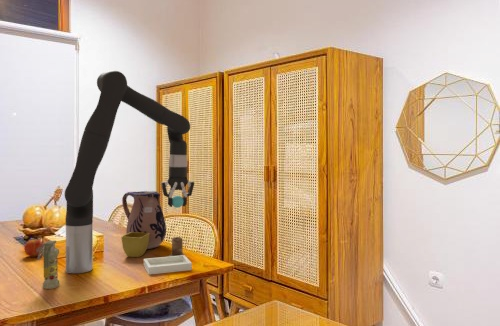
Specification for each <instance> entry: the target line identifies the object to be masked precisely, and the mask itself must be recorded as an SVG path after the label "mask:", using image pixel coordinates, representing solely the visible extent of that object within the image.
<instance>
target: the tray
mask: <svg viewBox="0 0 500 326" xmlns="http://www.w3.org/2000/svg"><path fill="white" fill-rule="evenodd" d="M143 267H144V268H145V270H146V272H147V275H158V274H165V273H166V274H168V273H174V272H184V271H185V272H186V271H192V270H193V263H192V262H191V260H190V259H189V258H188V257H187V256H186V255H185V254H184V255H179V256H170V255H169V256H161V257H159V256H158V257H150V258H148V257H147V258H143Z"/></svg>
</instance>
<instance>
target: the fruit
mask: <svg viewBox="0 0 500 326" xmlns="http://www.w3.org/2000/svg"><path fill="white" fill-rule="evenodd" d="M43 244H44V243H43V242H42V241H41V240H40V239H36V237H33V238H32V239H30V240H28V241H27V242H25V245H24V253H25V255H28V256H29V257H31V258H35V257H38V254H39V252H40V251H39V252H37V251H36V250H37V249H38V248H39V247H41V246H42V245H43ZM42 248H43V249H44V247H42ZM39 250H41V249H39ZM41 254H42V251H41Z"/></svg>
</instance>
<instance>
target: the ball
mask: <svg viewBox="0 0 500 326" xmlns="http://www.w3.org/2000/svg"><path fill="white" fill-rule="evenodd" d="M183 202H184V201H183V196H181V195H174V196H172V207H174V208H175V209H176V208H182V207H183Z"/></svg>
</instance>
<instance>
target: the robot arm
mask: <svg viewBox="0 0 500 326" xmlns="http://www.w3.org/2000/svg"><path fill="white" fill-rule="evenodd" d="M96 86H97V88H98V90H99V92H100V94H99V98H98V101H97V105H96V107H95V109H94V111H93V112H92V114H91V116H89V119H88V120H87V123H86V124H85V127H84V131H83V133H82V136H81V139H80V143H79V146H78V152H77V158H76V163H75V167H74V169H73V172H72V174H71V176H70V179H69V181H68V184H67V186H66V188H65V190H64V200H65V201H66V211H65V274H83V273H84V274H85V273H87V272H91V271H93V268H94V267H93V265H94V262H93V261H94V260H93V259H94V256H93V255H94V253H93V252H94V247H93V245H94V242H93V241H94V240H93V239H94V237H93V235H94V234H93V228H94V225H93V223H94V222H93V221H94V220H93V218H94V217H93V216H94V190H93V188H94V187H93V186H94V181H95V177H96V173H97V171H98V169H99V166H100V165H101V163H102V160H103V159H104V156H105V154H106V150H107V148H108V146H109V142H110V138H111V135H112V131H113V129H114V128H113V127H114V124H115V120H116V117H117V113H118V110H119V107H120V105H121V102H122V103H124V104H126V105H128V106H130V107H131V108H133V109H135V110H136V111H138V112H139V113H141V114H143V115H144V116H146V117H147V118H149V119H150V120H152V121H154V122H155V123H157V124H158V125H163V126H166V129H167V130H166V131H167V136H168V137H167V138H168V142H169V158H168V179H167V181H161V182H160V184H161V189H162V193H163V196H164V197H167V205H168V206H169V207H170V208H173V205H172V198H173V195H174V193H175V191H180V192H181V193H182V198H183V201H184V202H183V205H182V207H186V206H187V205H188V203H187V202H188V197H191V196H192V194H193V190H194V188H195V181H191V180H188V147H187V146H188V145H187V141H185V140H184V136H183V135H185V134H188V133H189V131H190V130H191V124H190V121H189V120H188V119H187V118H186V117H184V116H183V115H181V114H179V113H177V112H176V111H172V110H170V109H169V108H167V107H166V106H164V105H163V104H161V103H159V102H158V101H157V100H154V99H153V98H151V97H148V96H146V95H144V94H143V93H140V92H139V91H137V90H136V89H133V88H132V87H130V86H129V85H128V81H127V77H126V76H125V74H124V73H122V71H118V70H107V71H104V72H102V73H100V74H99V76H98V77H97V80H96ZM168 185H169V187H170V188H169V190H168V191H169V192H168V191H167V187H168ZM187 185H188V190H186V187H187Z"/></svg>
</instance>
